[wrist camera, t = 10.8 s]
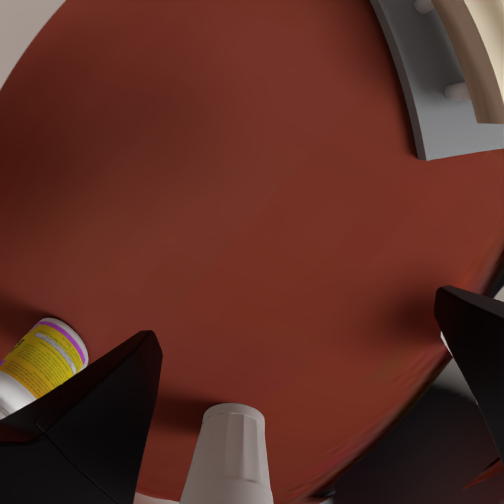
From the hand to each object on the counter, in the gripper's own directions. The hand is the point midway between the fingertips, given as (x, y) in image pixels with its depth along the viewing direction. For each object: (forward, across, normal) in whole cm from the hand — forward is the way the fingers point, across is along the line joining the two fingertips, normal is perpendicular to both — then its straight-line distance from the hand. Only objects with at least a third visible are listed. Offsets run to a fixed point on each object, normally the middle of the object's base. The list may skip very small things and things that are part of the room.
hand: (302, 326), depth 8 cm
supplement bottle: (+12, +22, +9) cm, 27 cm away
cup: (+12, +7, +20) cm, 24 cm away
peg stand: (+12, -15, -12) cm, 22 cm away
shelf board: (+8, -15, -12) cm, 20 cm away
